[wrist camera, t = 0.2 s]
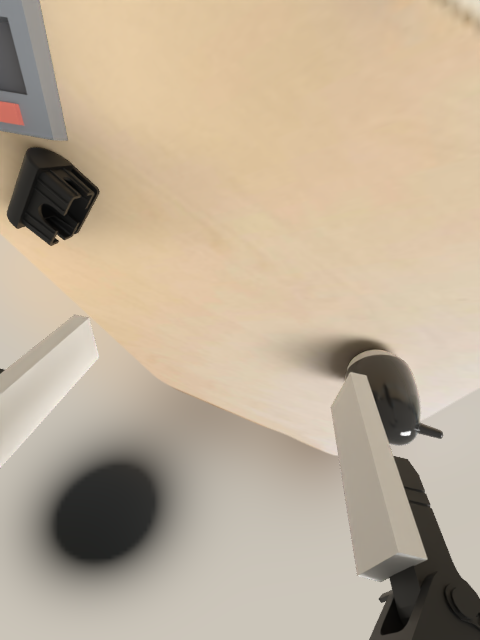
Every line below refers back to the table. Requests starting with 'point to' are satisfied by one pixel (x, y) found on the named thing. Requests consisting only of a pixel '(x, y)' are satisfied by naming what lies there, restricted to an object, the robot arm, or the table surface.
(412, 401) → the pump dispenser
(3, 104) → the socket plate
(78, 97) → the table surface
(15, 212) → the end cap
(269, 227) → the table surface
